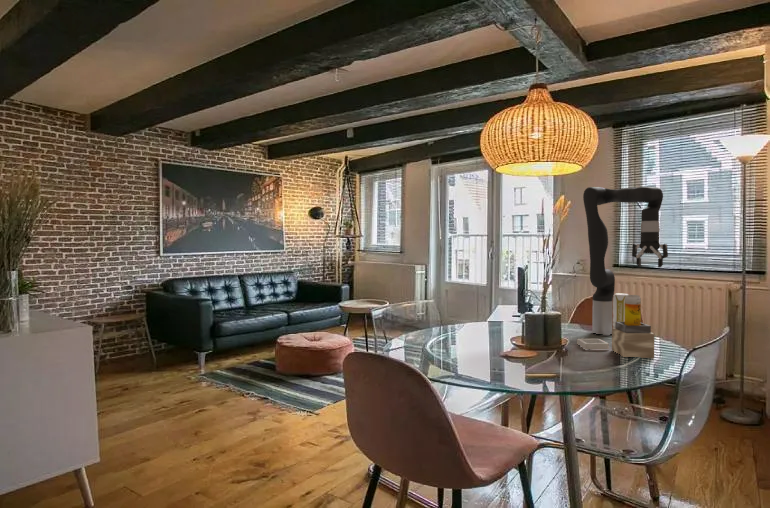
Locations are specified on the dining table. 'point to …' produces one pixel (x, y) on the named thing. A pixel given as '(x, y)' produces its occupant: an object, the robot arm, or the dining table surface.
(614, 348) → the stand
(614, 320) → the juice carton
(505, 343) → the dining table surface
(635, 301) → the beer can
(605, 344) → the low collar
